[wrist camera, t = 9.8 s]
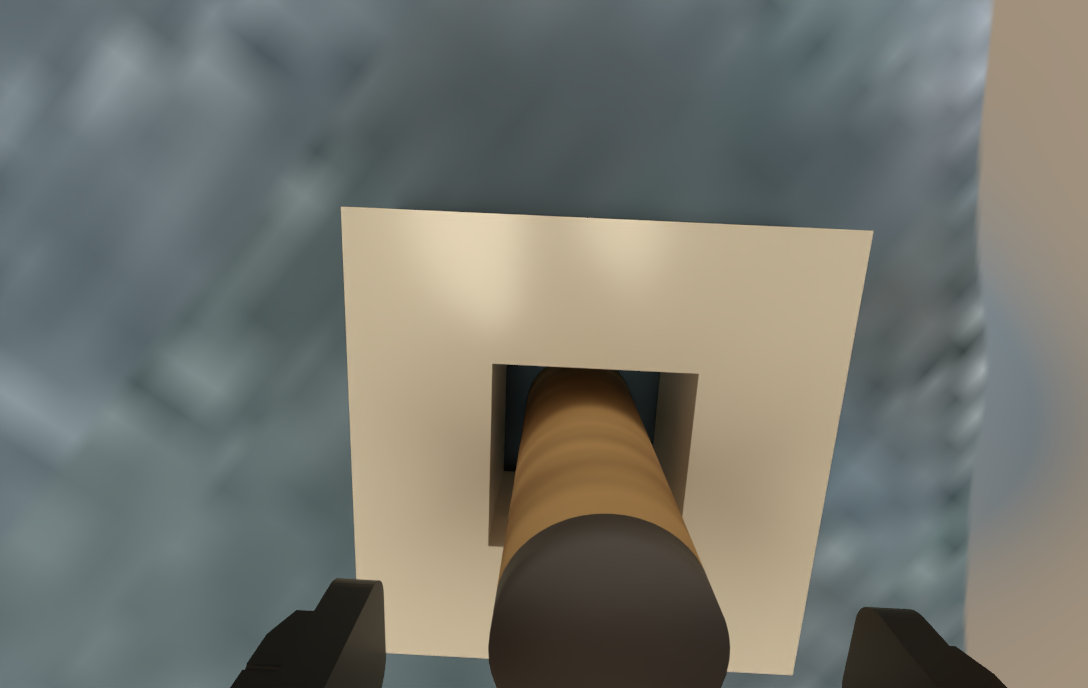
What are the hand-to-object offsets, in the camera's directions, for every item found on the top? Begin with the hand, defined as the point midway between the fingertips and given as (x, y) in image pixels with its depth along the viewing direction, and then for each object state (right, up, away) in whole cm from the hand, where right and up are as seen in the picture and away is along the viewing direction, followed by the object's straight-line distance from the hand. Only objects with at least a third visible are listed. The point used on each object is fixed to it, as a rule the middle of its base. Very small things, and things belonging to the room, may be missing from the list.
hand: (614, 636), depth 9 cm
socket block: (0, +3, +11) cm, 12 cm away
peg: (0, +3, +11) cm, 12 cm away
